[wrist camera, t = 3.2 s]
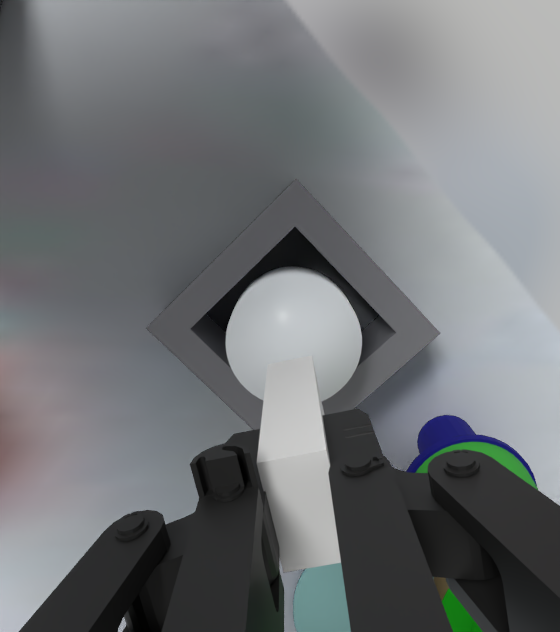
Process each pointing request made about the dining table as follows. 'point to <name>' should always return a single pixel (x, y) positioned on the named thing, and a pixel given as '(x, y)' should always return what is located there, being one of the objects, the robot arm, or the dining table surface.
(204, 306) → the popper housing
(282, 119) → the dining table surface
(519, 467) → the toy
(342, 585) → the pad
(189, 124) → the dining table surface
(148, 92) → the dining table surface
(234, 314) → the dome
